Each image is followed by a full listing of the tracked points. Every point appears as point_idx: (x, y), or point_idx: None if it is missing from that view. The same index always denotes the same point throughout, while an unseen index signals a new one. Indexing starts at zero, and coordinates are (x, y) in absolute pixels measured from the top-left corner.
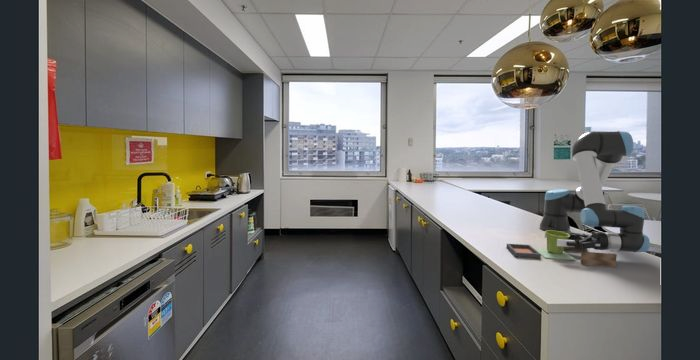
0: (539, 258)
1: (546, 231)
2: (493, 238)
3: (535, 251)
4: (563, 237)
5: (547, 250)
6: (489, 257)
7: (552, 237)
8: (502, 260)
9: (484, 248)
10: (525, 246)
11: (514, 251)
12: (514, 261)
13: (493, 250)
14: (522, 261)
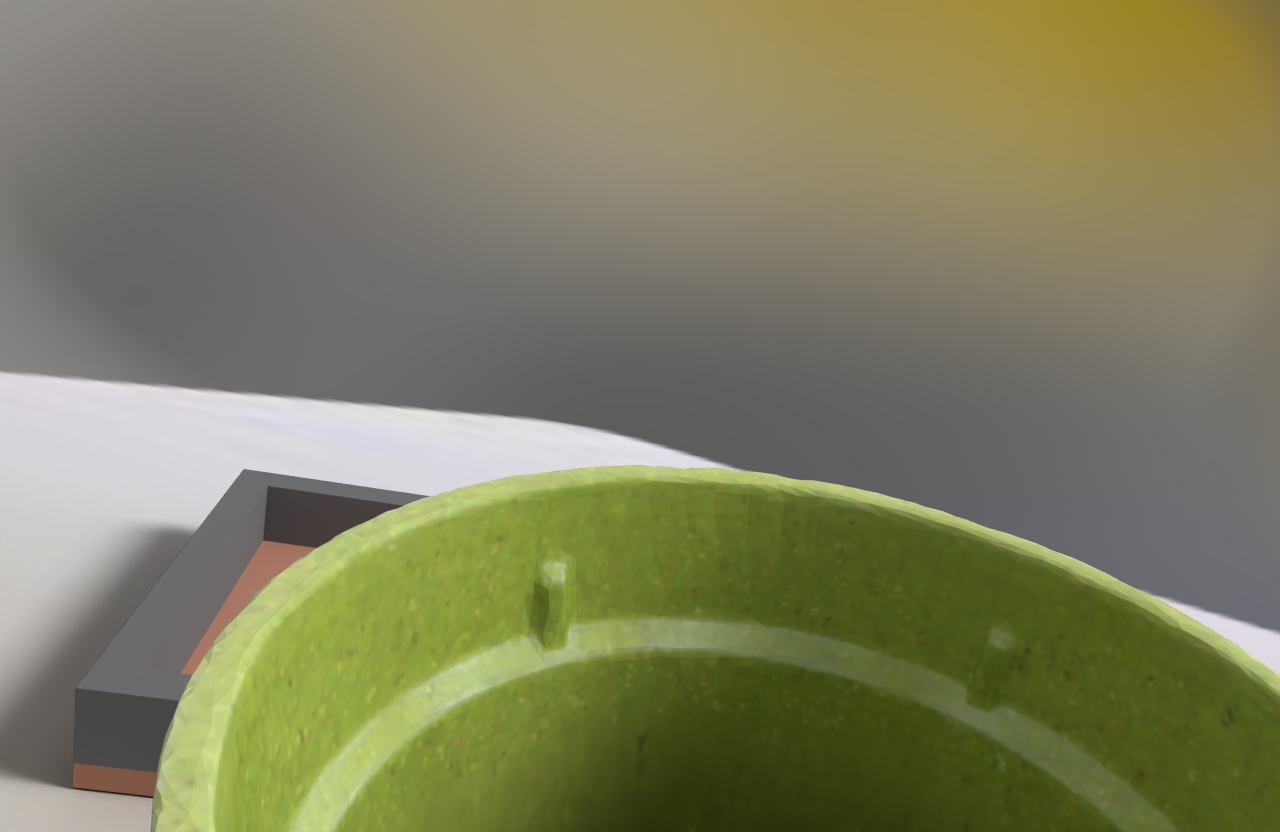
0: (83, 764)
1: (967, 547)
2: (1260, 652)
3: None
4: (164, 766)
5: None
6: (258, 395)
7: (452, 612)
8: (120, 424)
9: (628, 459)
10: None
11: (321, 482)
12: (42, 478)
13: None
14: (10, 534)
